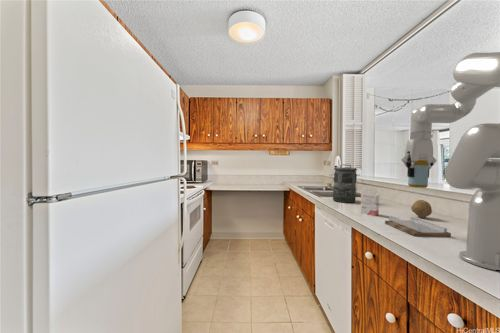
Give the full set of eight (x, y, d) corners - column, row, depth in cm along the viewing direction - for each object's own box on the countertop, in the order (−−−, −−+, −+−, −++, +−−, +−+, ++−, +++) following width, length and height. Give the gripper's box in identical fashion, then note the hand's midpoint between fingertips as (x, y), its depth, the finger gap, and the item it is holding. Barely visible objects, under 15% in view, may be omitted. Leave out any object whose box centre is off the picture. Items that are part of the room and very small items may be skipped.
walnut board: (450, 236, 93) (450, 233, 93) (413, 235, 92) (413, 232, 92) (416, 224, 111) (416, 221, 111) (384, 223, 110) (385, 220, 110)
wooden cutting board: (446, 233, 93) (447, 228, 93) (417, 232, 92) (418, 228, 92) (413, 221, 111) (413, 217, 110) (388, 220, 110) (388, 216, 110)
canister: (355, 201, 174) (357, 164, 173) (355, 204, 160) (357, 165, 159) (333, 198, 181) (335, 164, 180) (331, 201, 166) (333, 164, 166)
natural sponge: (407, 216, 128) (407, 198, 128) (417, 215, 131) (418, 198, 131) (424, 220, 120) (425, 201, 119) (434, 219, 123) (435, 201, 122)
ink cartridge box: (378, 214, 128) (380, 189, 128) (375, 216, 125) (377, 189, 125) (363, 212, 135) (364, 187, 134) (359, 213, 132) (361, 188, 131)
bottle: (411, 185, 106) (413, 153, 105) (429, 187, 100) (431, 153, 100) (405, 186, 102) (407, 153, 101) (424, 188, 96) (426, 153, 96)
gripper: (431, 138, 104) (429, 177, 105) (395, 137, 103) (393, 176, 104) (446, 136, 97) (444, 178, 97) (408, 135, 96) (405, 177, 96)
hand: (418, 176), depth 101 cm, fingers closed on bottle, 6 cm apart
